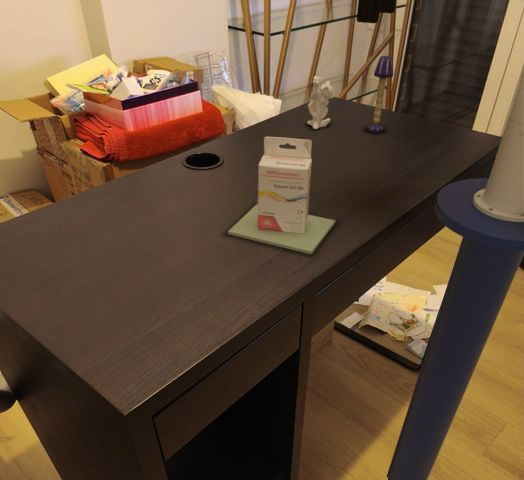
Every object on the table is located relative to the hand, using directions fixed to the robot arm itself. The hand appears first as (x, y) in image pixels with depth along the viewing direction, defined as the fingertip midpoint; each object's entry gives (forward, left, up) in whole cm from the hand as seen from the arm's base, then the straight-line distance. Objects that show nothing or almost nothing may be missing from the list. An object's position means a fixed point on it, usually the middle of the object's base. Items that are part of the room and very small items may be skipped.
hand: (376, 17), depth 74 cm
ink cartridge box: (+8, +16, -30) cm, 35 cm away
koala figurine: (+22, -39, -31) cm, 54 cm away
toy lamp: (+7, -42, -31) cm, 52 cm away
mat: (+8, +16, -30) cm, 35 cm away
